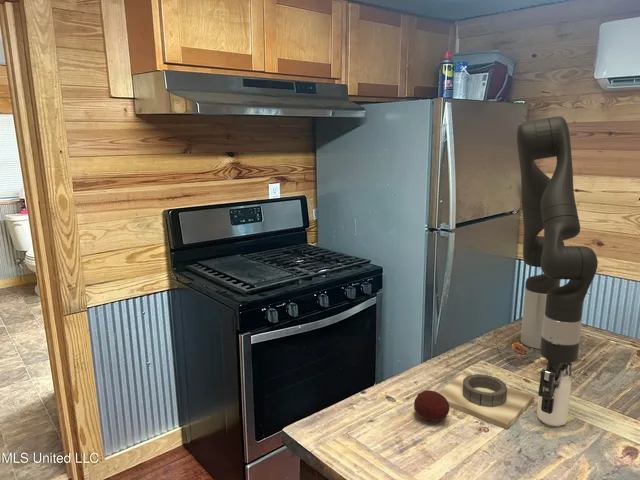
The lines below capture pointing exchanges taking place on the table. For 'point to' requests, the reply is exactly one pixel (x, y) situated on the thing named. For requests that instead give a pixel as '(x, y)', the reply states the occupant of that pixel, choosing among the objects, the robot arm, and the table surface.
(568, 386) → the beverage can
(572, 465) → the table surface
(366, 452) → the table surface
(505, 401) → the ring board
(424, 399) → the potato
